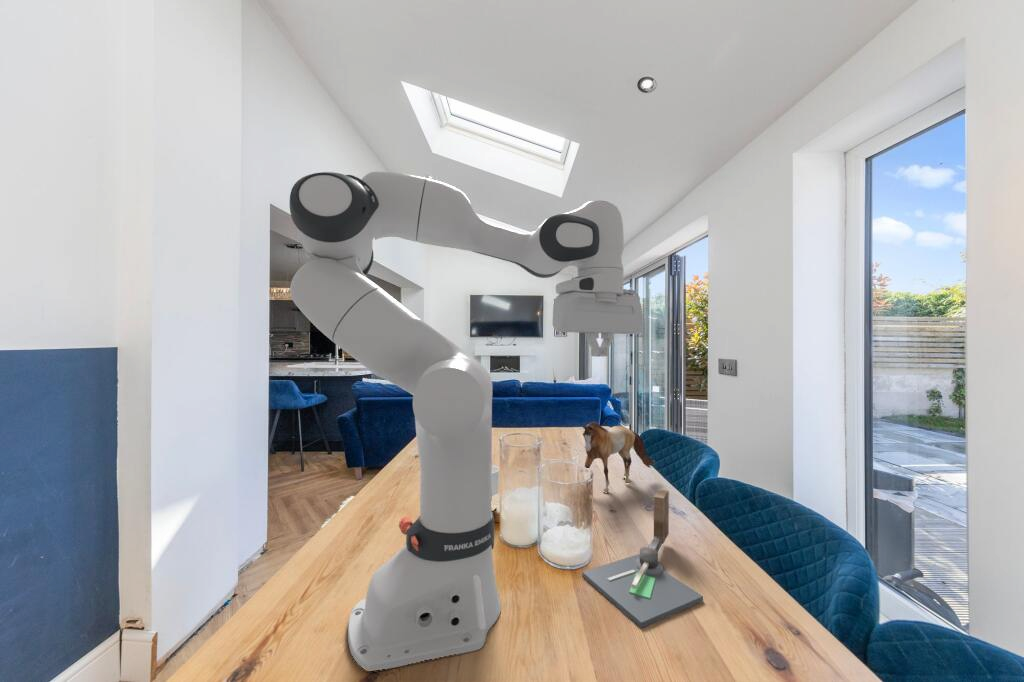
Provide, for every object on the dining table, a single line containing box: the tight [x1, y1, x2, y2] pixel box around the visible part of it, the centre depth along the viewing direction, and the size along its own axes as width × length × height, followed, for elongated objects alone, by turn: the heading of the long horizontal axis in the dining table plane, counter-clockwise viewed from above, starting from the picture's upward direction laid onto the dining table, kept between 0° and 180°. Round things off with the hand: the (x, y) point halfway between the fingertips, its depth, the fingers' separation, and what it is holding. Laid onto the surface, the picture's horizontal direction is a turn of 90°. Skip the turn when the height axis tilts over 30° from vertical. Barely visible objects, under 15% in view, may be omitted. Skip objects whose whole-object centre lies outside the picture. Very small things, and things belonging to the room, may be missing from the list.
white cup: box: [491, 464, 500, 501], centre depth 97 cm, size 8×8×10 cm
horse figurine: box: [582, 421, 656, 493], centre depth 113 cm, size 31×8×21 cm, turn 127°
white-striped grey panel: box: [581, 553, 704, 629], centre depth 66 cm, size 14×14×1 cm
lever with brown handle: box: [632, 488, 670, 589], centre depth 72 cm, size 22×3×10 cm, turn 146°
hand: (599, 356), depth 76 cm, fingers closed
